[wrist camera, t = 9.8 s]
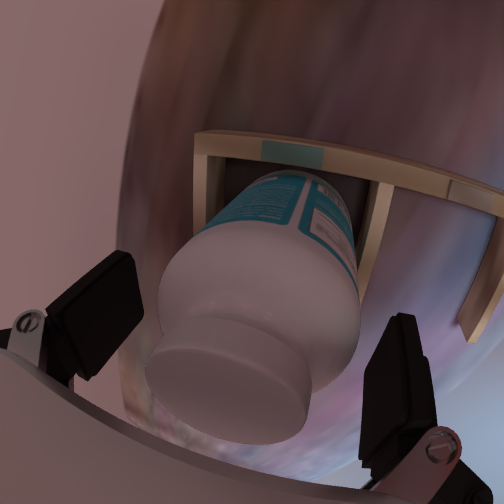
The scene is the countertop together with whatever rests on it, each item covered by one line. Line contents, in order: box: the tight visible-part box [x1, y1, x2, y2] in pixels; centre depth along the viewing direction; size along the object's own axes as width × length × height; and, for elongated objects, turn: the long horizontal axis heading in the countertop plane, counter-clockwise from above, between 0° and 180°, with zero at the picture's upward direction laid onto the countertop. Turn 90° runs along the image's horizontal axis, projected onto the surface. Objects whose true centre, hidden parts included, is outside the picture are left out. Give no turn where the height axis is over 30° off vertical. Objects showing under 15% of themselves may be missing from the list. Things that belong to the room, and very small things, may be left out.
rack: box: [193, 129, 504, 344], centre depth 16 cm, size 10×20×3 cm, turn 86°
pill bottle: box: [145, 170, 360, 445], centre depth 13 cm, size 8×7×14 cm
